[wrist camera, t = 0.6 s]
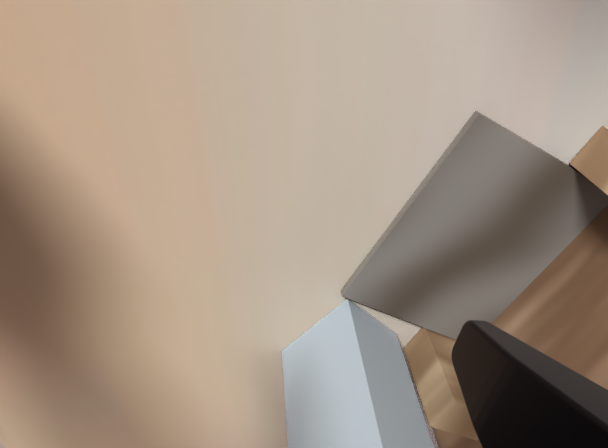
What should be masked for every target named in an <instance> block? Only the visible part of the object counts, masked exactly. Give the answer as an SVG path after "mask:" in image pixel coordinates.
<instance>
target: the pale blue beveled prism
mask: <svg viewBox="0 0 608 448" xmlns="http://www.w3.org/2000/svg"><path fill="white" fill-rule="evenodd" d="M282 360H283V377H284V393H285V409H286V425H287V442H288V448H434V447H433V444H432V440H431V437H430V434H429V431H428V428H427V425H426V422H425V419H424V416H423V413H422V410H421V407H420V404H419V401H418V398H417V395H416V392H415V389H414V386H413V383H412V380H411V377H410V373H409V370H408V367H407V364H406V361H405V358H404V355H403V352H402V349H401V346H400V343H399V340H398V337H397V334H396V333H395V332H393V331H392V330H391V329H389V328H388V327H386V326H385V325H384V324H382V323H381V322H380V321H378V320H377V319H375V318H374V317H373V316H371V315H370V314H369V313H367V312H366V311H364V310H363V309H362V308H360V307H359V306H357V305H356V304H355V303H353V302H352V301H351V300H349V299H348V298H347V299H346V300H345V301H344V302H342V303H341V304H340V305H339V306H337V307H336V308H335V309H334V310H332V311H331V312H330V313H329V314H327V315H326V316H325V317H324V318H322V319H321V320H320V321H319V322H317V323H316V324H315V325H314V326H312V327H311V328H310V329H309V330H307V331H306V332H305V333H304V334H302V335H301V336H300V337H299V338H297V339H296V340H295V341H294V342H292V343H291V344H290V345H289V346H287V347H286V348H285V349H284V350H282Z"/></svg>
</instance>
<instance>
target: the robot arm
mask: <svg viewBox="0 0 608 448" xmlns="http://www.w3.org/2000/svg"><path fill="white" fill-rule="evenodd" d="M451 357H452V363H453V367H454V370H455V373H456V376H457V379H458V382H459V385H460V388H461V392H462V395H463V398H464V401H465V404H466V407H467V410H468V413H469V416H470V419H471V422H472V425H473V427H474V429H475V432H476V434H477V437H478V439H479V441H480V443H481V446H482V448H608V390H607V389H605V388H604V387H602V386H600V385H598V384H597V383H595V382H593V381H591V380H590V379H588V378H586V377H584V376H582V375H581V374H579V373H577V372H575V371H574V370H572V369H570V368H568V367H567V366H565V365H563V364H561V363H560V362H558V361H556V360H554V359H553V358H551V357H549V356H547V355H545V354H544V353H542V352H540V351H538V350H537V349H535V348H533V347H531V346H530V345H528V344H526V343H524V342H523V341H521V340H519V339H517V338H515V337H514V336H512V335H510V334H508V333H507V332H505V331H503V330H501V329H500V328H498V327H496V326H494V325H493V324H491V323H489V322H487V321H481V320H468V321H466V322H465V323H464V324H463V326H462V328H461V331H460V333H459V335H458V337H457V339H456V341H455V344H454V346H453V349H452V354H451Z"/></svg>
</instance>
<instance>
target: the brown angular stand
mask: <svg viewBox="0 0 608 448" xmlns="http://www.w3.org/2000/svg"><path fill="white" fill-rule="evenodd" d="M570 164H571V165H572V166H573V167H574V168H576V169H577V170H578V171H577V170H575V169H574V168H572V167H570V166H569V165H567V164H565V163H563V162H562V161H560V160H558V159H557V158H555V157H553V156H552V155H550V154H548V153H546V152H545V151H543V150H541V149H540V148H538V147H536V146H535V145H533V144H531V143H530V142H528V141H526V140H524V139H523V138H521V137H519V136H518V135H516V134H514V133H513V132H511V131H509V130H507V129H506V128H504V127H502V126H501V125H499V124H497V123H496V122H494V121H492V120H491V119H489V118H487V117H485V116H484V115H482V114H480V113H479V112H477V111H475V113H474V114H473V115H472V117H471V118H470V119H469V121H468V122H467V123H466V125H465V126H464V127H463V129H462V130H461V131H460V133H459V134H458V135H457V137H456V138H455V139H454V141H453V142H452V143H451V145H450V146H449V147H448V149H447V150H446V151H445V153H444V154H443V155H442V157H441V158H440V159H439V161H438V162H437V163H436V165H435V166H434V167H433V169H432V170H431V171H430V173H429V174H428V175H427V177H426V178H425V179H424V181H423V182H422V183H421V185H420V186H419V187H418V189H417V190H416V191H415V193H414V194H413V195H412V197H411V198H410V199H409V201H408V202H407V203H406V205H405V206H404V207H403V209H402V210H401V211H400V213H399V214H398V215H397V217H396V218H395V219H394V221H393V222H392V223H391V225H390V226H389V227H388V229H387V230H386V231H385V233H384V234H383V235H382V237H381V238H380V239H379V241H378V242H377V243H376V245H375V246H374V247H373V249H372V250H371V251H370V253H369V254H368V255H367V257H366V258H365V259H364V261H363V262H362V263H361V265H360V266H359V267H358V269H357V270H356V271H355V273H354V274H353V275H352V277H351V278H350V279H349V281H348V282H347V283H346V285H345V286H344V287H343V289H342V290H341V294H342V296H343V297H345V298H348V299H350V300H353V301H356V302H358V303H361V304H363V305H366V306H369V307H371V308H374V309H376V310H379V311H382V312H384V313H387V314H389V315H392V316H395V317H397V318H400V319H402V320H405V321H408V322H410V323H413V324H416V325H418V326H421V327H422V329H421V330H420V331H419V332H418V333H417V334H416V335H415V336H414V338H413V339H412V340H411V341H410V342H409V343H408V344H407V345H406V346H405V348H404V352H405V355H406V358H407V361H408V364H409V367H410V370H411V373H412V376H413V379H414V381H415V384H416V387H417V390H418V393H419V396H420V399H421V402H422V405H423V408H424V411H425V414H426V417H427V420H428V423H429V426H430V427H432V428H433V431H434V434H435V437H436V440H437V443H438V446H439V448H482V446H481V443H480V441H479V439H478V437H477V434H476V432H475V429H474V427H473V425H472V422H471V419H470V416H469V413H468V410H467V407H466V404H465V401H464V398H463V395H462V392H461V388H460V385H459V382H458V379H457V376H456V373H455V370H454V367H453V363H452V357H451V354H452V349H453V346H454V344H455V341H456V339H457V337H458V335H459V333H460V331H461V328H462V326H463V324H464V323H465V322H466V321H468V320H481V321H487V322H489V323H491V324H493V325H494V326H496V327H498V328H500V329H501V330H503V331H505V332H507V333H508V334H510V335H512V336H514V337H515V338H517V339H519V340H521V341H523V342H524V343H526V344H528V345H530V346H531V347H533V348H535V349H537V350H538V351H540V352H542V353H544V354H545V355H547V356H549V357H551V358H553V359H554V360H556V361H558V362H560V363H561V364H563V365H565V366H567V367H568V368H570V369H572V370H574V371H575V372H577V373H579V374H581V375H582V376H584V377H586V378H588V379H590V380H591V381H593V382H595V383H597V384H598V385H600V386H602V387H604V388H605V389H607V390H608V129H606V128H605V127H603V126H602V127H601V128H600V129H599V130H598V132H597V133H596V134H595V135H594V136H593V137H592V138H591V139H590V141H589V142H588V143H587V144H586V145H585V146H584V147H583V148H582V149H581V151H580V152H579V153H578V154H577V155H576V156H575V157H574V158H573V160H572V161H571V162H570Z"/></svg>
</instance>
